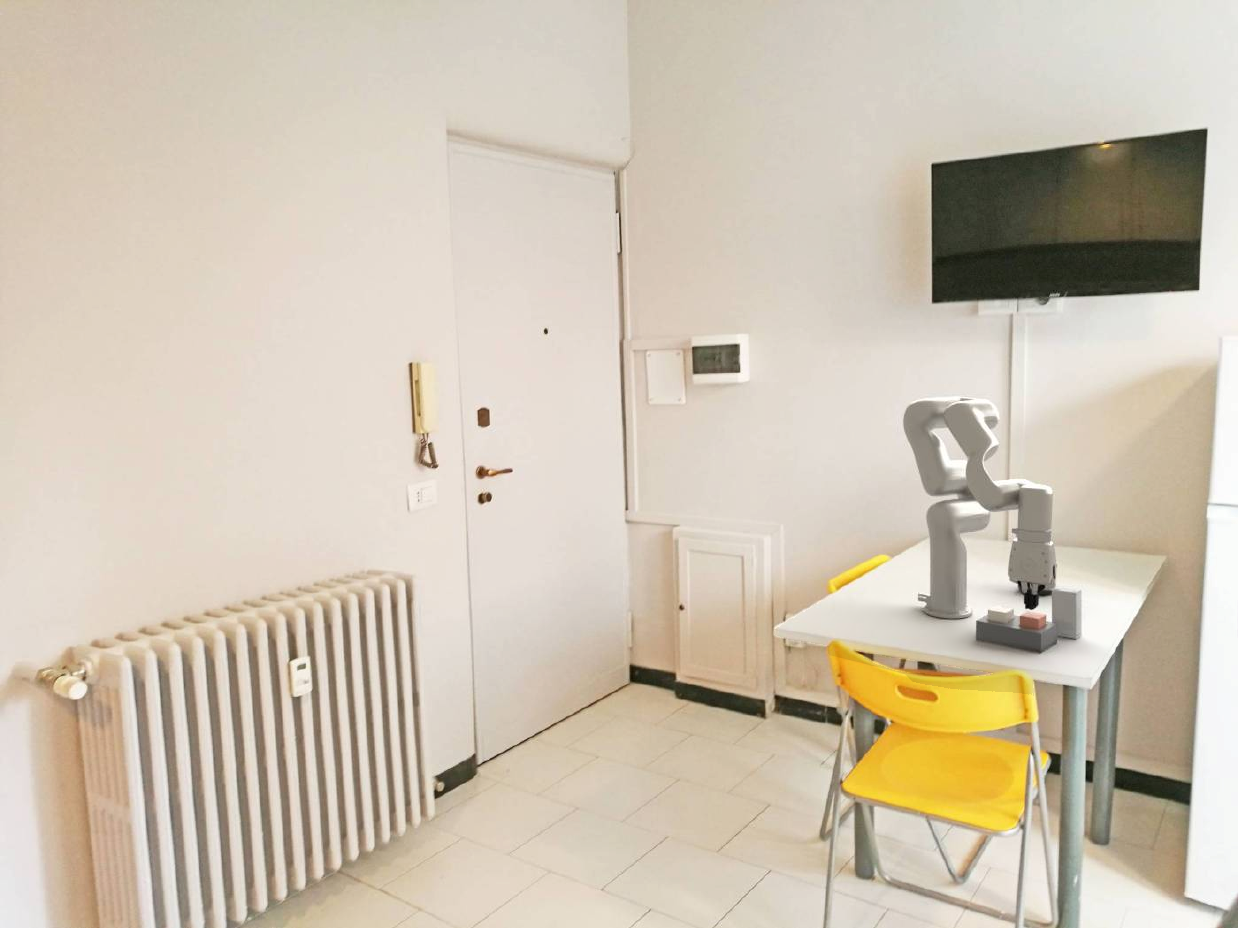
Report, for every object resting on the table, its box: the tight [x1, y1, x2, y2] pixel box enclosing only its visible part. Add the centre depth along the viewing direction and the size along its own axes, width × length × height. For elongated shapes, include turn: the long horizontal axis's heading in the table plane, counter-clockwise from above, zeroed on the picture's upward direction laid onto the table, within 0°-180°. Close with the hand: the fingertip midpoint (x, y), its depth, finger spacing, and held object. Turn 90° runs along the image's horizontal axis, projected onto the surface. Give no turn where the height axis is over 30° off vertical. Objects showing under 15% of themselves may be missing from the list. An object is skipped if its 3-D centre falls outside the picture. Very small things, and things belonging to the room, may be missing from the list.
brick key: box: [1019, 610, 1047, 630], centre depth 226 cm, size 5×5×4 cm
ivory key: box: [987, 605, 1015, 623], centre depth 231 cm, size 5×5×4 cm
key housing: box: [975, 614, 1058, 654], centre depth 229 cm, size 16×10×5 cm, turn 44°
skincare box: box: [1051, 585, 1083, 640], centre depth 231 cm, size 6×4×12 cm
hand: (1030, 607), depth 226 cm, fingers closed
